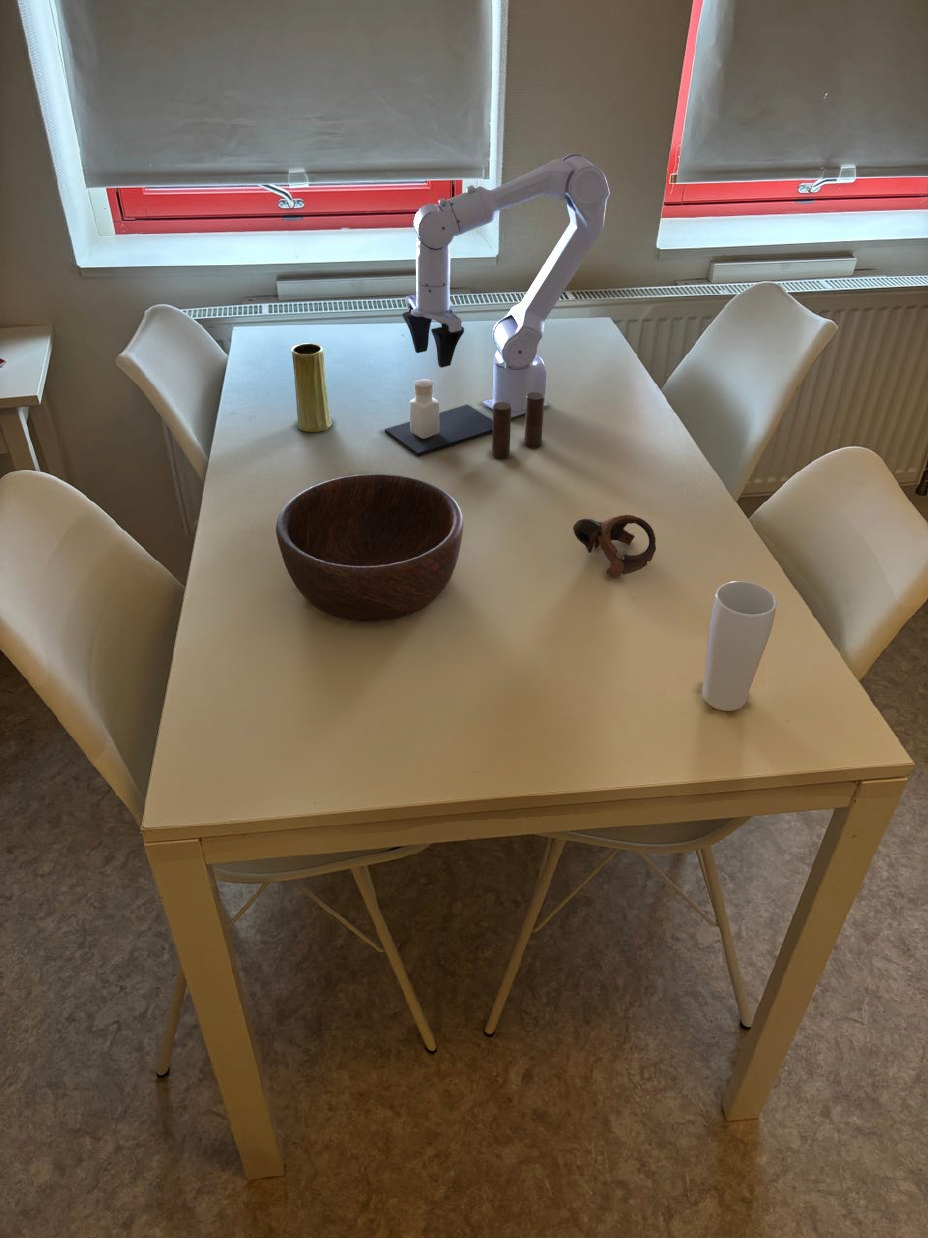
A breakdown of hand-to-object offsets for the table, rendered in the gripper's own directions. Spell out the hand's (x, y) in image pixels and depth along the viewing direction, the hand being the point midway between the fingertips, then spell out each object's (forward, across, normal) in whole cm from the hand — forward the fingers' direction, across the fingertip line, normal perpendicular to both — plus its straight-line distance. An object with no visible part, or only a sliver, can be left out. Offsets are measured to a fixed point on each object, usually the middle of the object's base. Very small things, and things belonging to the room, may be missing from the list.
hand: (432, 358), depth 171 cm
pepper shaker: (+10, +7, -6) cm, 14 cm away
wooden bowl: (+11, +40, -36) cm, 55 cm away
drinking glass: (+10, +85, -14) cm, 87 cm away
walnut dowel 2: (+10, +20, +8) cm, 24 cm away
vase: (+11, -8, -20) cm, 24 cm away
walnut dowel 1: (+10, +20, +1) cm, 23 cm away
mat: (+10, +7, -2) cm, 13 cm away
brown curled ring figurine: (+10, +55, -5) cm, 56 cm away
